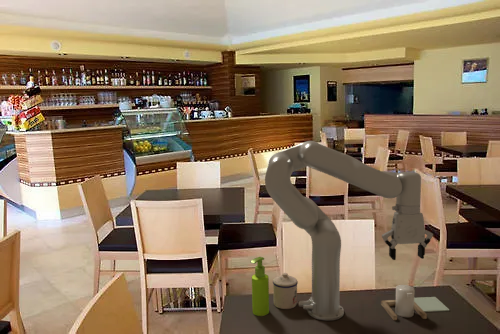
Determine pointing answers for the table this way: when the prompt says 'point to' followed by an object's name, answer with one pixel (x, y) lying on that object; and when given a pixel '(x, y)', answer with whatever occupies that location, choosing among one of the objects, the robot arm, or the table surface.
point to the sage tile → (430, 304)
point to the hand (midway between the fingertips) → (406, 258)
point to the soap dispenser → (260, 289)
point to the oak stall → (392, 303)
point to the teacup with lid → (285, 291)
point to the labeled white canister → (404, 301)
